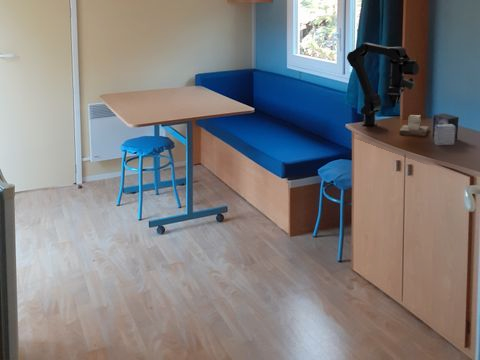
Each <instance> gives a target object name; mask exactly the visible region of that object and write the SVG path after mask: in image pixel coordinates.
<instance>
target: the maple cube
mask: <svg viewBox="0 0 480 360" xmlns="http://www.w3.org/2000/svg"><path fill="white" fill-rule="evenodd" d="M421 119H422V118H421V114H419V115H418V114H410V115H409V116H408V119H407V120H408V123H407V125H408V129H414V130H419V128H420V126H421Z"/></svg>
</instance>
